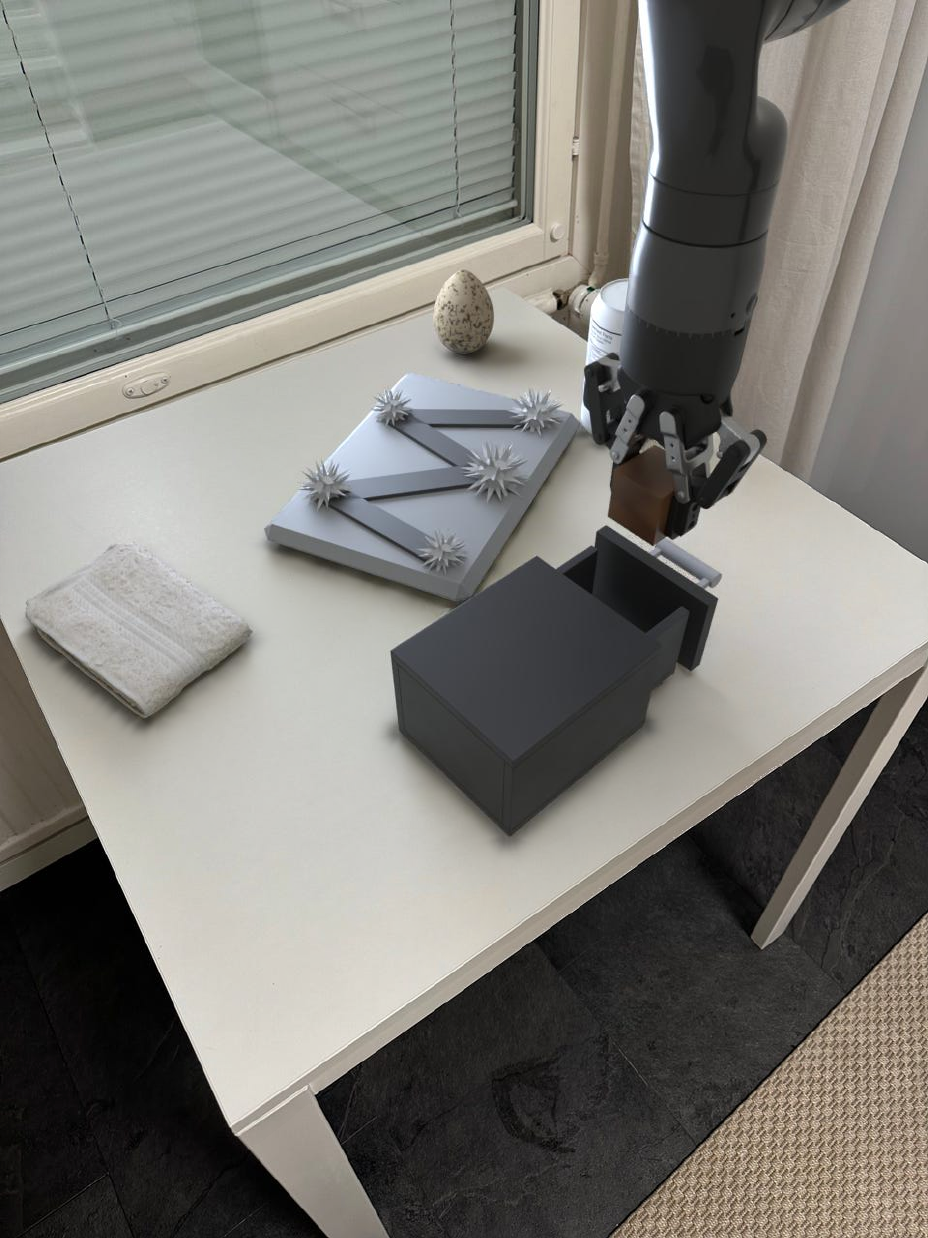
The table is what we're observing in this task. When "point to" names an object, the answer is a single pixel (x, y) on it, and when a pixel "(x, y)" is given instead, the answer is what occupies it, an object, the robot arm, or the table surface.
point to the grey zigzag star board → (428, 484)
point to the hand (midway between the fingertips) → (650, 515)
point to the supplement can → (604, 332)
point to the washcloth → (136, 626)
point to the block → (643, 495)
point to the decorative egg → (463, 313)
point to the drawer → (651, 594)
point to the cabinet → (523, 690)
